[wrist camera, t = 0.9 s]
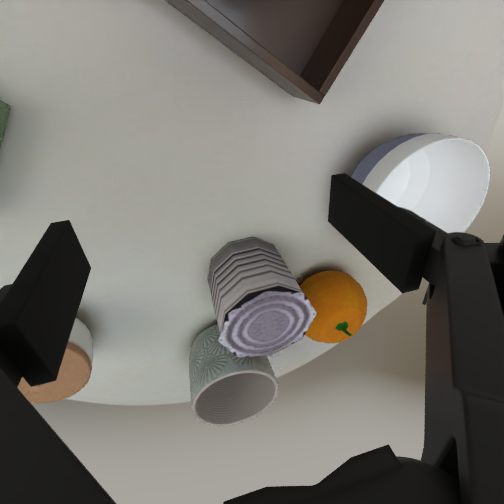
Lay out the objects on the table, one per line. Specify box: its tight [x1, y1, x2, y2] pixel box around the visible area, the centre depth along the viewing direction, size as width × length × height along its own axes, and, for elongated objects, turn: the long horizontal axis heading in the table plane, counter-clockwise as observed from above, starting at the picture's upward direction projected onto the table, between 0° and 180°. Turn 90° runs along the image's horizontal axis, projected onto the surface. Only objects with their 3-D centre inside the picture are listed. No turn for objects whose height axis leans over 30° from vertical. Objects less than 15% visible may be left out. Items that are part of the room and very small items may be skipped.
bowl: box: [351, 133, 490, 233], centre depth 38 cm, size 16×16×10 cm
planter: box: [189, 324, 279, 426], centre depth 47 cm, size 12×12×11 cm
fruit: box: [299, 271, 367, 343], centre depth 47 cm, size 12×12×10 cm
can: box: [208, 237, 317, 357], centre depth 40 cm, size 11×11×12 cm
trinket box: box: [18, 317, 93, 403], centre depth 38 cm, size 11×11×9 cm
